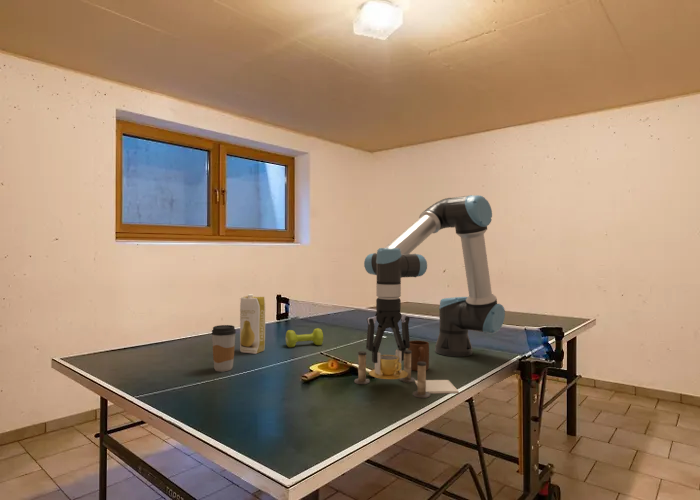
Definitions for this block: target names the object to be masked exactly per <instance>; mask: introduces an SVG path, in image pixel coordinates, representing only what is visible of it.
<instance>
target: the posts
mask: <svg viewBox="0 0 700 500" xmlns="http://www.w3.org/2000/svg"><path fill="white" fill-rule="evenodd" d="M411 353H412V351H411V350H408V349H406V350H405V351H404V360H403V370H404V371H406V372H407V373H408V375H407V376H406V377H404V378H400V379H399V381H400V382H402V383H407V384H408V383H409V384H411V383H415V380H417V385H416V386H417V388H416V389H417V390H415V391H413V392H412V396H413V397H415V398H418V399H428V398H430V397H431V393H429V392H426V380H427V370H426V362H423V361H419V362H417V365H418V371H417V379H416V378H415V377H413V376H412V370H411ZM357 355H358V364H357V365H358V369H357V371H358V378H355V379H354V384H357V385H369V384H370V383H371V380H370V379H369V378H367V351H363V350H362V351H358V352H357Z"/></svg>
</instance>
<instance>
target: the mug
mask: <svg viewBox="0 0 700 500" xmlns="http://www.w3.org/2000/svg"><path fill="white" fill-rule="evenodd" d="M409 341H410V347H409V348H407V350H411V351H412V353H411V371H415V372H418V365H417V362H419V361H423V362H426V371H428V370H429V368H430V343H429V341H424V340H409Z"/></svg>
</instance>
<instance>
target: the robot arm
mask: <svg viewBox="0 0 700 500" xmlns="http://www.w3.org/2000/svg"><path fill="white" fill-rule="evenodd" d="M492 218H493V211H492V207H491V205H490V203H489V200H487V199H486V197H484V195H477V194H476V195H475V194H474V195H472V194H470V195H464V196H455V197H446V198H443V199H441V200H439V201H436V202H435V203H433V204H432V205H430V206H429V207H427V208H426V209H425V210H423V211H422V212H421V213H420V215H419V217H418V219H417V220H416V221H414V223H412V224H411V225H409V227H408V228H407V227H406V229H405V230H404V231H403V232H402V233H400V234H399V235H397V237H396V238H394V239H393V240H392V241H391V242H390V243H388V244H387V245H386V246H385V247H380V248H378V249H377V250H376V252H374V253H369V254H368V255H367V256H366V257H365V259H364V263H363V267H364V270H365V271H366V273H368V274H369V275H374V276H376V297H377V298H376V299H375V301H376V302H375V305H376V307H375V308H376V309H375V310H376V312H375V314H374V316H372V317H370V316H369V317H367V318H366V322H367V335H366V345H365V346H366V347H365V349H366V350H367V351H369V352H371V361H372V363H374V369H375V373H377V374H380V355H381V352H380V350H379V349H380V346H381V344H382V343H381V342H382V340H383V336H384V335H385V332H386V329H391V330H392V333H393V337H394V340H395V343H396V345H397V349H395V356H398V357H399V360H398V362H400V363H401V364H402V361H403V362H404V351H405V350H407V349H408V348H409V347H410V341H411V340H410V330H409V323H410V316H407V315H402V313H401V305H402V303H401V298H400V297H401V296H402V295H401V294H402V292H401V290H402V287H401V283H402V278H417V277H422V276H423V275H424V274H425V273H426V272H427V270H428V262H427V259H426V257H425V256H423V255H421V254H417V253H412V252H413V251H414V250H415V249H416V248H417V247H419V246H420V244H422V243H423V242H424V241H425V240H427V238H428V237H430V236H431V235H432V234H437V233H438V232H439V231H441V230H443V229H447V228H454V230H455V234H456V235H457V236H458V237H460V241H461V248H462V249H461V250H462V256H463V262H464V269H465V270H464V271H465V276H466V284H467V290H468V296H455V297H444V298H442V299H440V301H439V308H438V309H439V331H438V332H439V334H438V336H437V338H436V339H437V340H436V343H435V345H434V351H435V353H436V354H439V355H442V356H447V357H468V356H471V355H473V346H472V343H471V339H470V337H469V331H472V332H473V331H474V332H479V333H484V334H496V333H498V332H499V331H500V330H501V329H502V327H503V325H504V322H505V317H506V311H505V310H506V309H505V307H504V305H502V304H501V303H498V299H497V296H496V295H495V294H494V293H492V292H493V291H492V284H491V278H490V269H489V263H488V262H489V261H488V256H487V255H488V254H487V248H486V241H485V240H486V239H485V233H486V232H487V230H488V226H489V225H491V223H492ZM376 322H377V323H378V325H377V330H376V334H375V327H376V326H375V324H376ZM399 322H401V332H400V326H399ZM401 334H402V335H401ZM398 367H399V366H397V369H398ZM401 370H402V369H401ZM401 370H400V371H398V372H401Z"/></svg>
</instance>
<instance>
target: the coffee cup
mask: <svg viewBox="0 0 700 500" xmlns="http://www.w3.org/2000/svg"><path fill="white" fill-rule="evenodd" d="M236 330H237V329H236V328H235V326H234V325H232V324H230V325H229V324H223V325H222V324H221V325H215V326H213V327H212V329H211V335H212V336H211V338H212V339H211V340H212V356H213V357H212V359H213V368H214V370H215V372H220V373H221V372H229V371H232V370H233V368H234V357H235V347H236V346H235V345H236V344H235V343H236V342H235V341H236V333H237V331H236Z"/></svg>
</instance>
